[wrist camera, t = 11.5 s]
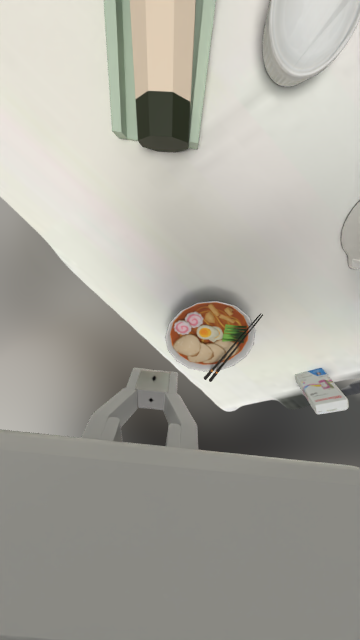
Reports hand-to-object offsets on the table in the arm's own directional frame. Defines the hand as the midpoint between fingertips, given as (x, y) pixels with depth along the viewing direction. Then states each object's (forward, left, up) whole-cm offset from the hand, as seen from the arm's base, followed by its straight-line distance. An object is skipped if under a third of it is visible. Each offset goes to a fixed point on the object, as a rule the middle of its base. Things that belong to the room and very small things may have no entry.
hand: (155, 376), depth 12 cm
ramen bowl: (-10, +18, -35) cm, 41 cm away
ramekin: (-13, -32, -36) cm, 49 cm away
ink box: (-48, +33, -35) cm, 69 cm away
